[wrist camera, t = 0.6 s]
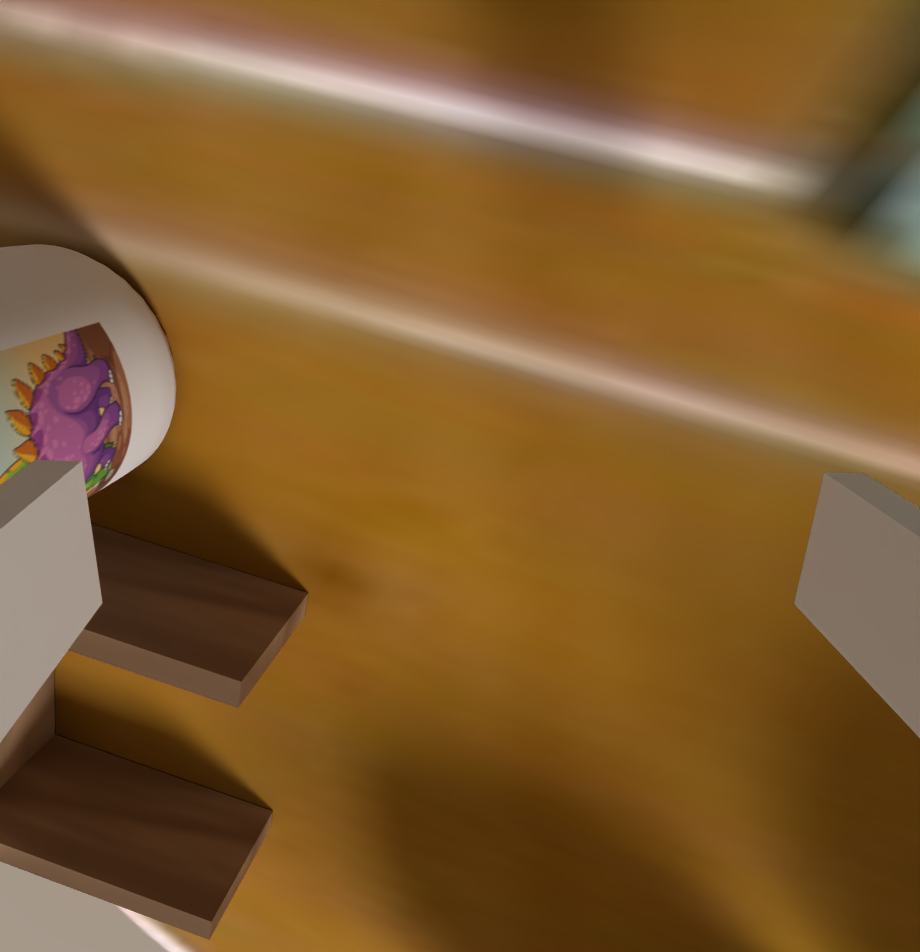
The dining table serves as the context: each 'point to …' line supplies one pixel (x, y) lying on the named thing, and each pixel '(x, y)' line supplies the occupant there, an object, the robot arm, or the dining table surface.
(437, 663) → the dining table surface
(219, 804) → the walnut U-rest
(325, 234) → the dining table surface
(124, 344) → the milk bottle
